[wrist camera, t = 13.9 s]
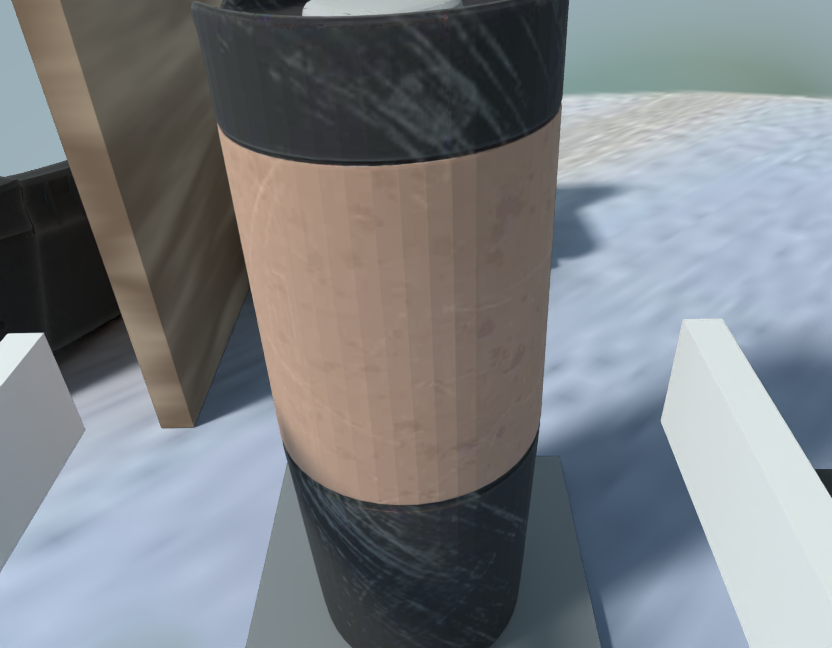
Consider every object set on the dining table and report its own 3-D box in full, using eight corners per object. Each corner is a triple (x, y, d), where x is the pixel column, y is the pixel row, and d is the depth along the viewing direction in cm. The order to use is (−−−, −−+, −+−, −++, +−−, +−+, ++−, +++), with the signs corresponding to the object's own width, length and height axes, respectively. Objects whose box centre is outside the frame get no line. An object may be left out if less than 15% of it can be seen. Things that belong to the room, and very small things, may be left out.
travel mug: (570, 583, 25) (657, -34, 13) (412, 736, 21) (340, 43, 9) (428, 469, 30) (401, -56, 18) (276, 576, 26) (119, -12, 14)
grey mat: (558, 465, 30) (559, 455, 30) (621, 763, 20) (623, 754, 20) (289, 471, 31) (287, 461, 30) (224, 765, 21) (220, 756, 21)
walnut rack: (532, 214, 51) (550, -103, 39) (590, 418, 33) (656, -59, 21) (254, 223, 51) (193, -85, 40) (161, 427, 33) (1, -28, 22)
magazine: (250, 64, 55) (-143, 27, 28) (286, 66, 54) (-86, 30, 27) (255, 269, 61) (-70, 401, 34) (287, 274, 60) (-20, 414, 33)
